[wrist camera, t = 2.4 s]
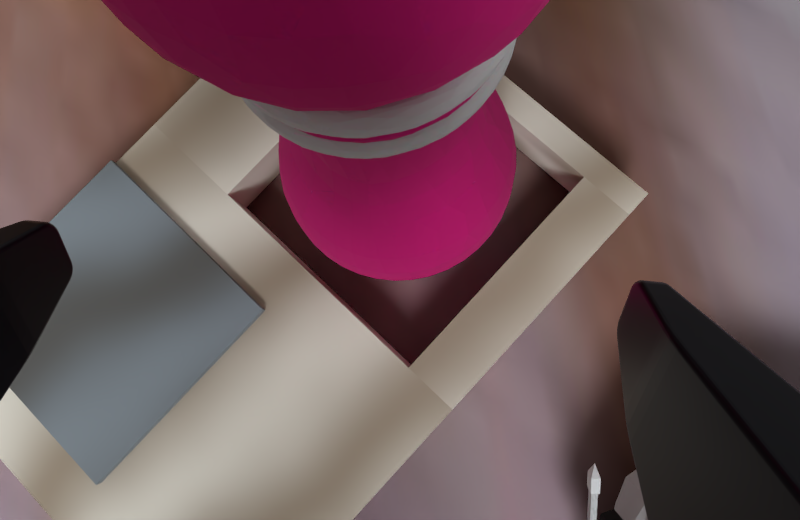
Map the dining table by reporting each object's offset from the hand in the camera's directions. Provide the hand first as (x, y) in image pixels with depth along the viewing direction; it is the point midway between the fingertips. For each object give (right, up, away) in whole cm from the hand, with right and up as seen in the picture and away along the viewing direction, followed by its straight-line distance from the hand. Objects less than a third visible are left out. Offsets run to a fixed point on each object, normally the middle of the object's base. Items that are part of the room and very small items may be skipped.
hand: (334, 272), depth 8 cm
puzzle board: (-3, -1, +13) cm, 13 cm away
